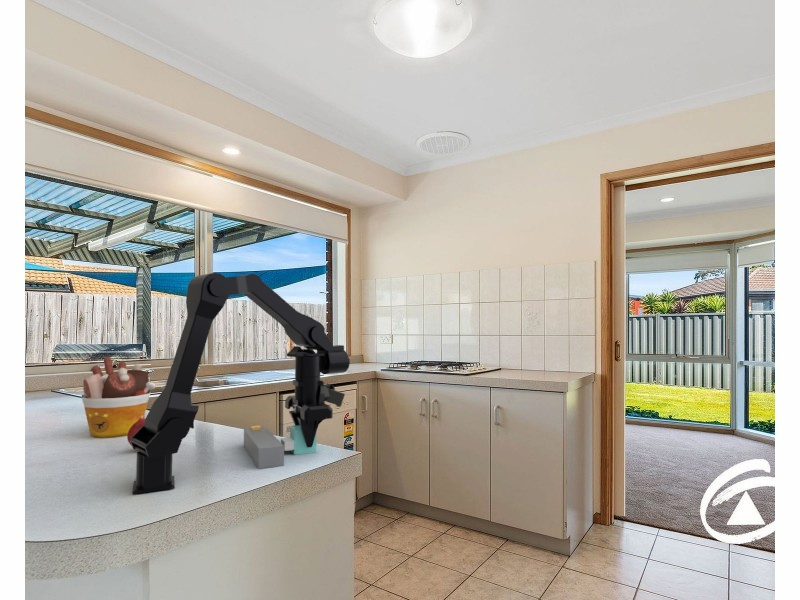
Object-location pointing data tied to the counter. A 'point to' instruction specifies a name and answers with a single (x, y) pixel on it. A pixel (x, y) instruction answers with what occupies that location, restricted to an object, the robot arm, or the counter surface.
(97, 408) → the bucket of meat
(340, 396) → the robot arm
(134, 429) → the onion
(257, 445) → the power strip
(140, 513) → the counter surface
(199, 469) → the counter surface
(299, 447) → the block
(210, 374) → the counter surface
